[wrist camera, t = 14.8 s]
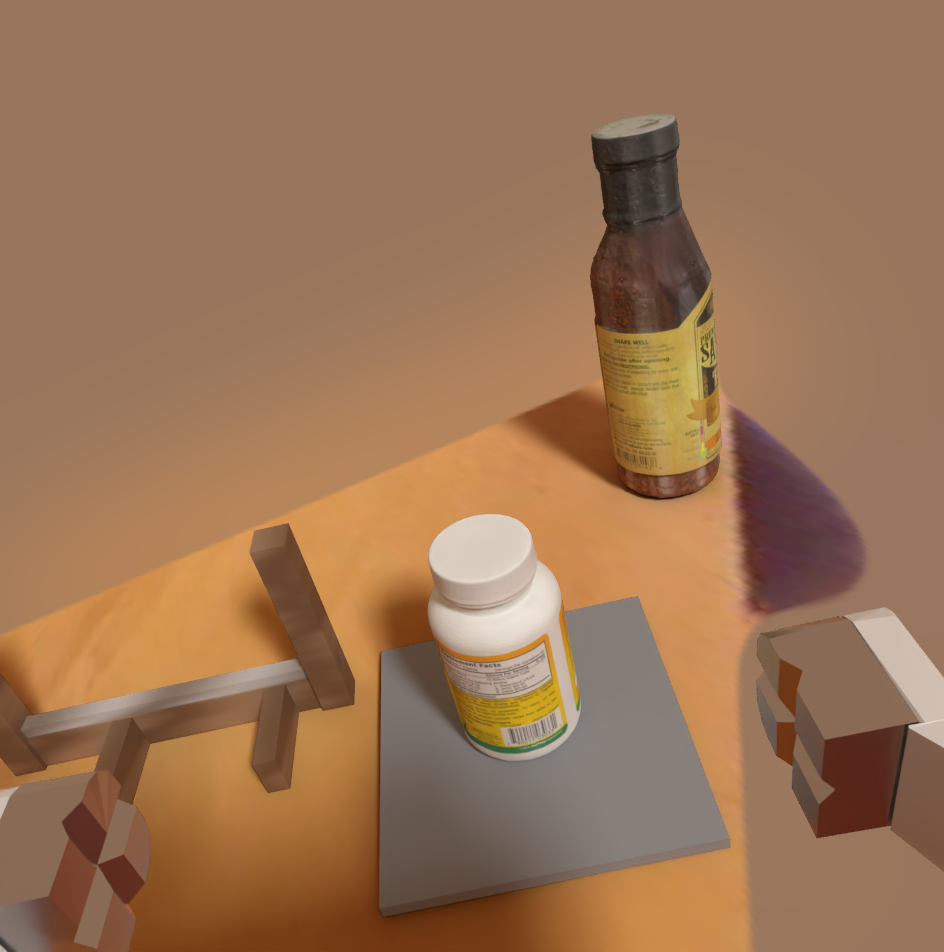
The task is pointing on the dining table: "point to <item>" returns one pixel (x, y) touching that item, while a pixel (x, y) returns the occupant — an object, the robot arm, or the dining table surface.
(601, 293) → the sauce bottle
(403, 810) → the grey mat
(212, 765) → the dining table surface
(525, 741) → the supplement bottle
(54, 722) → the dispenser cradle
